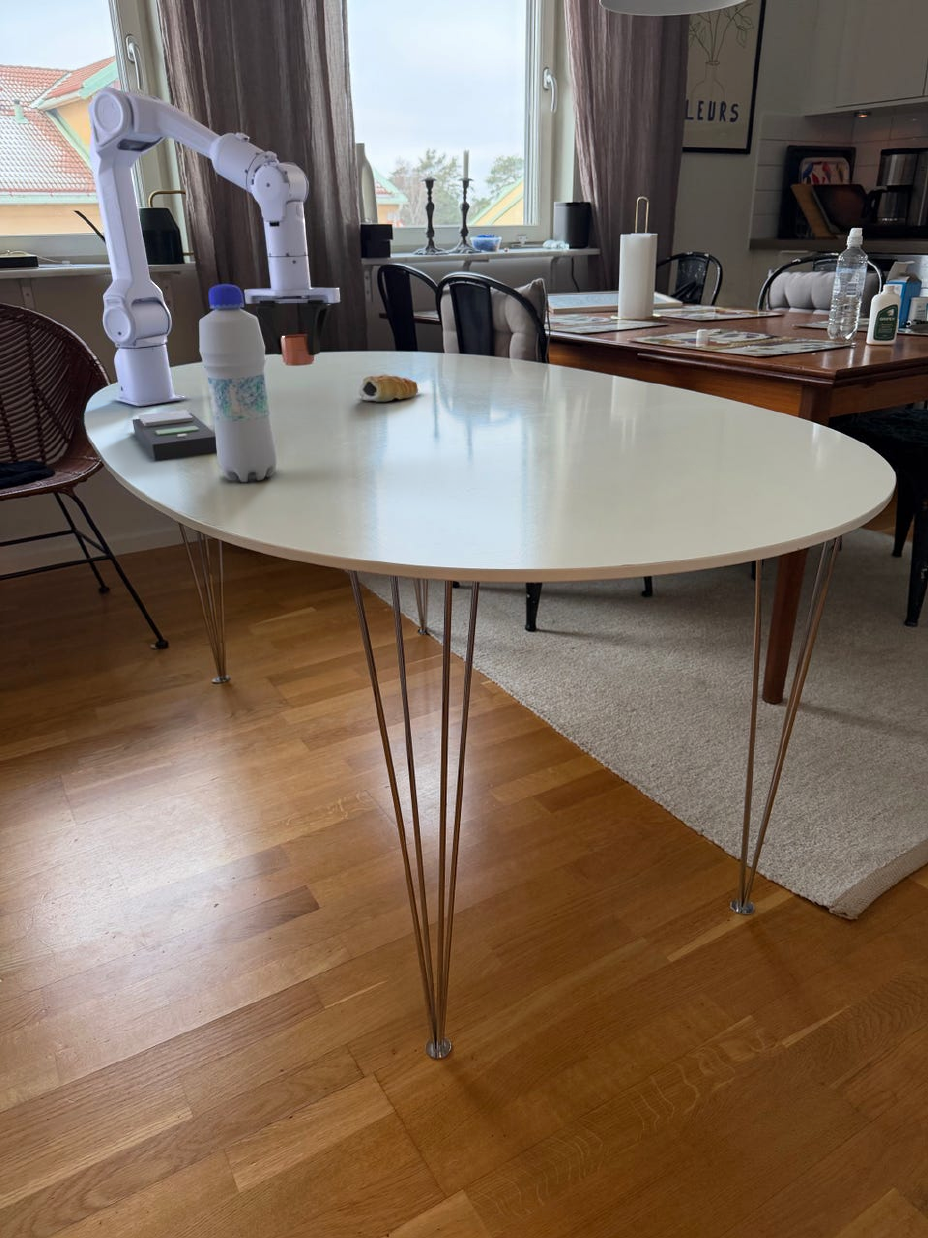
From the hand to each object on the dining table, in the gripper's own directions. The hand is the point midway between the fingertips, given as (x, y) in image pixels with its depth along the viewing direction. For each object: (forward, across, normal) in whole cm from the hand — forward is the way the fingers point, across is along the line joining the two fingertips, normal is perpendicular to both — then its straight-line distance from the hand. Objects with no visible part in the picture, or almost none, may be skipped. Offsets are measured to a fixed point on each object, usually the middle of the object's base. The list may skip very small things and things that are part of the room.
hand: (298, 353), depth 129 cm
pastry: (+8, +11, +9) cm, 16 cm away
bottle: (+8, +13, -39) cm, 42 cm away
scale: (+8, -6, -25) cm, 27 cm away
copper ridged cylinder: (+1, 0, 0) cm, 1 cm away
